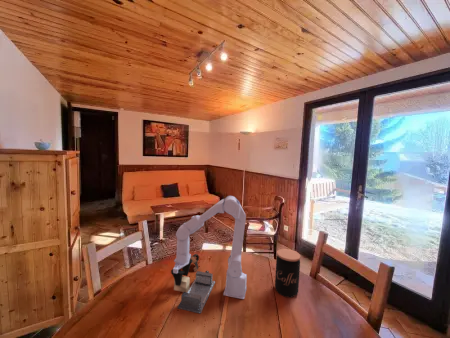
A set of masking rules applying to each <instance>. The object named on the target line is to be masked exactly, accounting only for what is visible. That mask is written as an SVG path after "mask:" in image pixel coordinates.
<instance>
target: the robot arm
mask: <svg viewBox="0 0 450 338" xmlns="http://www.w3.org/2000/svg"><path fill="white" fill-rule="evenodd" d="M225 213H226V214H228V215H230V216H232V217H233V218H234V228H233V235H232V236H233V237H232V244H231V251H230V254H229V256H228V258H227V264H228V265H227V270H226V278H225V280H226V281H225V289H224V291H223V296H227V297H231V298H235V299H241V300H245V298H246V292H247V281H248V280H247V279H248V277H247V273H244V272H243V269H242V251H243V243H244V235H245V227H246V221H247V216H246V212H245V211H244V209H243V207H242V205H241V202H240V201H239V199H237V197H235V196H234V195H227V196H226V197H225V198H222V199H221V200H219V201H218V202H216V203H215V204H214V205H212V206H211V207H210V208H208V209H207V210H206V211H204V212H203V213H202V214H201V215H193V216H191V218H190V219H189V220H188V221H186V222H183V223H182V224H181V225H180V226H179V228H178V229H177V231H176V232H175V237H176V239H177V241H176V257H175V259H174V260H173V262H174V267H173V268H172V269H171V270H170V273H171V275H172V277H173V279H174V280H175V284H176V285H178V286H180V285H181V281H182V276H185V277H188V275H189V272H190V267H191V266H192V264H193V263H192V261H193V260H192V259H190V258H191V256H192V254H191V253H190V243H191V242H190V235H192V234H194V233H196V232H197V231H198V230H200V229H201V228H202V227H204V225H205V222H206V221H207V220H209V219H211V218H212V217H214V216H215V215H217V214H225ZM174 280H173V281H174Z"/></svg>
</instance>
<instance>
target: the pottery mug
mask: <svg viewBox="0 0 450 338" xmlns="http://www.w3.org/2000/svg"><path fill="white" fill-rule="evenodd" d="M190 259H192V260H193V261H192V263H191V264H194V267H193V272H194V273H197V271H198V270H199V263H198V262H199V260H200V255H199V254H198V253H195V254H194V253H193V254H192V255H191V258H190Z"/></svg>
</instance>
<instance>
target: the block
mask: <svg viewBox="0 0 450 338" xmlns="http://www.w3.org/2000/svg"><path fill="white" fill-rule="evenodd" d="M190 278H191V277H189V276H184V275H183V276H182V281H181V285H180V286H178V285H176V284H175V280H173V291H177V292H182V293H183V292H187V291H188V290H189V288H190V286H191V285H190V284H191V283H190V282H191V281H190V280H191V279H190Z"/></svg>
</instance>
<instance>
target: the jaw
mask: <svg viewBox="0 0 450 338" xmlns="http://www.w3.org/2000/svg"><path fill="white" fill-rule="evenodd" d="M195 279H196V282H197V283H202V284H207V285H211V284H212V281H213V273H212V272H211V273H210V271H209V270H206V271H199V270H197V271H196V272H195Z"/></svg>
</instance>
